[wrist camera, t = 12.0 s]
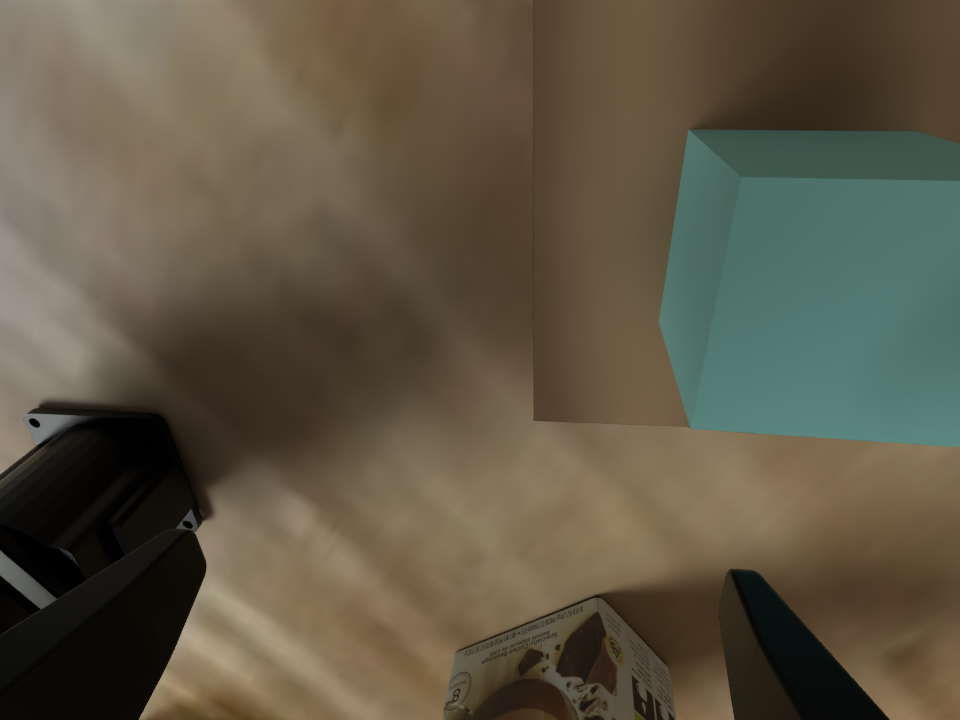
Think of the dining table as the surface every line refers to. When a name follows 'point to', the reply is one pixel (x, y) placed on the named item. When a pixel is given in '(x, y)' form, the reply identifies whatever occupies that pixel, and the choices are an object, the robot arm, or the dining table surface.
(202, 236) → the dining table surface
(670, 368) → the walnut block
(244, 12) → the dining table surface
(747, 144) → the teal block
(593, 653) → the coffee box
